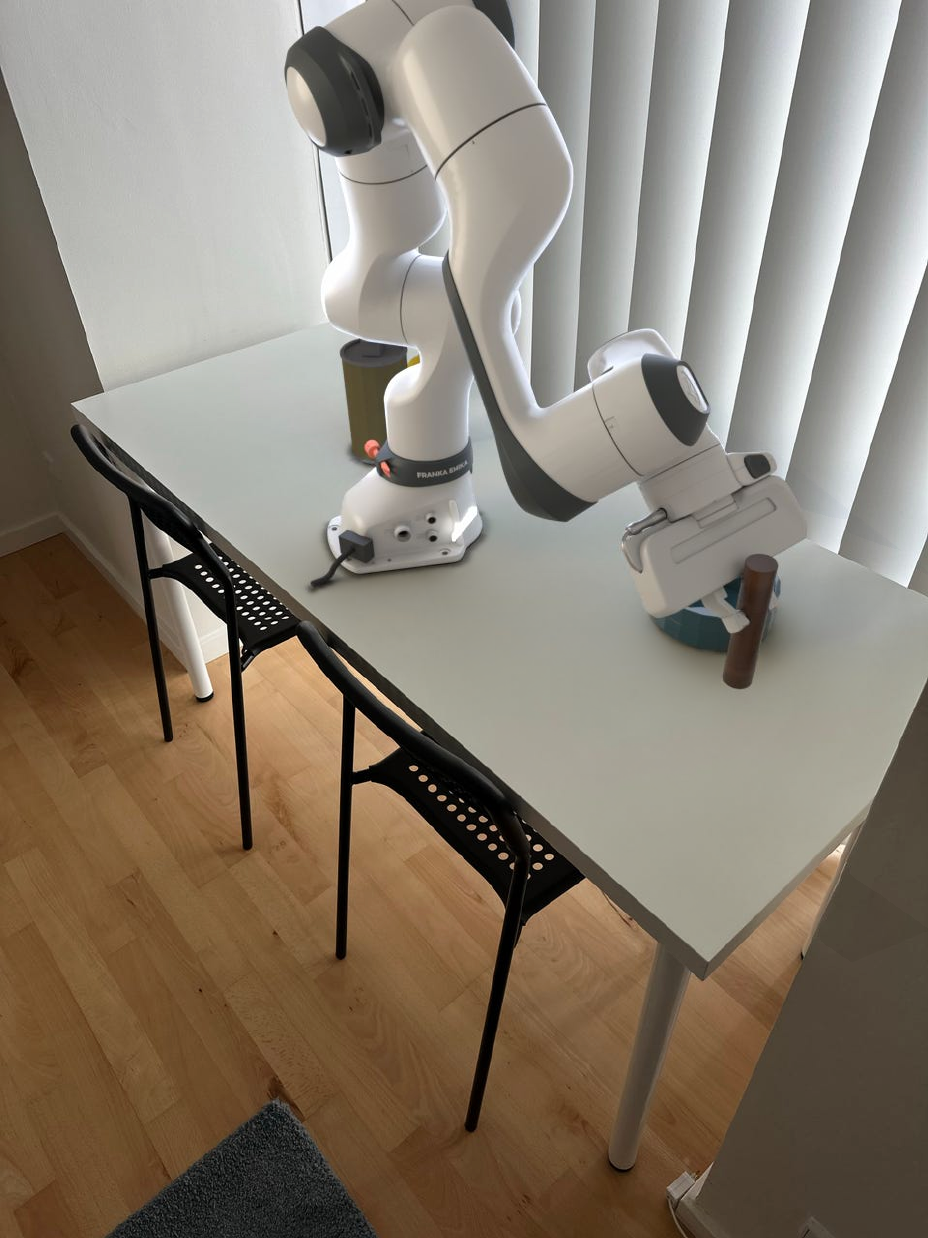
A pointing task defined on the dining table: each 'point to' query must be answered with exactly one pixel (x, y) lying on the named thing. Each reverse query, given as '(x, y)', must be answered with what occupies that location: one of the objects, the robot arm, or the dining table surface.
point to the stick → (756, 606)
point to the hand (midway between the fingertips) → (755, 620)
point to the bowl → (708, 621)
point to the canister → (369, 390)
